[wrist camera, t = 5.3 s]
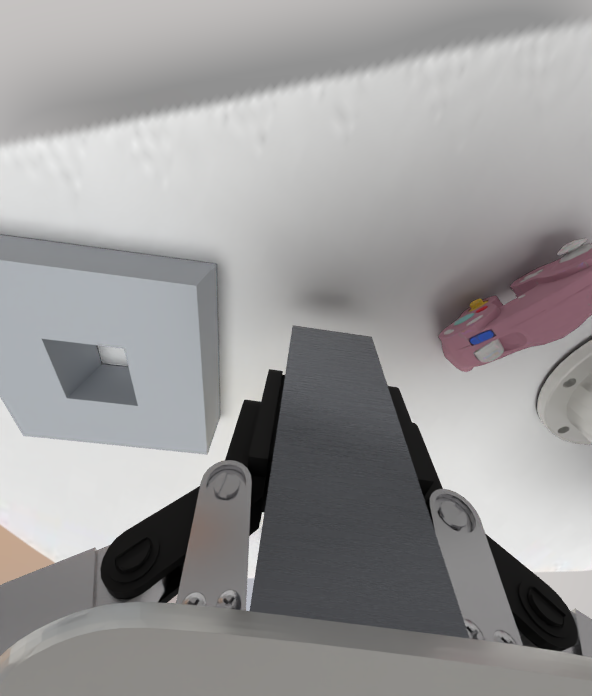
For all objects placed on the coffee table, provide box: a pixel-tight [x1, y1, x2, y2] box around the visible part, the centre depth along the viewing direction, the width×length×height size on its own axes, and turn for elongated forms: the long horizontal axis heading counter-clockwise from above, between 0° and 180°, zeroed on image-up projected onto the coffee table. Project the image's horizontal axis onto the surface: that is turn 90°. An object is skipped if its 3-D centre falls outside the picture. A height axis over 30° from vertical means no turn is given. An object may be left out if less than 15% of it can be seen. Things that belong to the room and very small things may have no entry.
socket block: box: [0, 235, 220, 454], centre depth 20 cm, size 14×14×4 cm
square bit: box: [250, 326, 470, 639], centre depth 9 cm, size 4×4×10 cm
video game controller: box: [439, 238, 592, 372], centre depth 17 cm, size 10×5×7 cm, turn 131°
